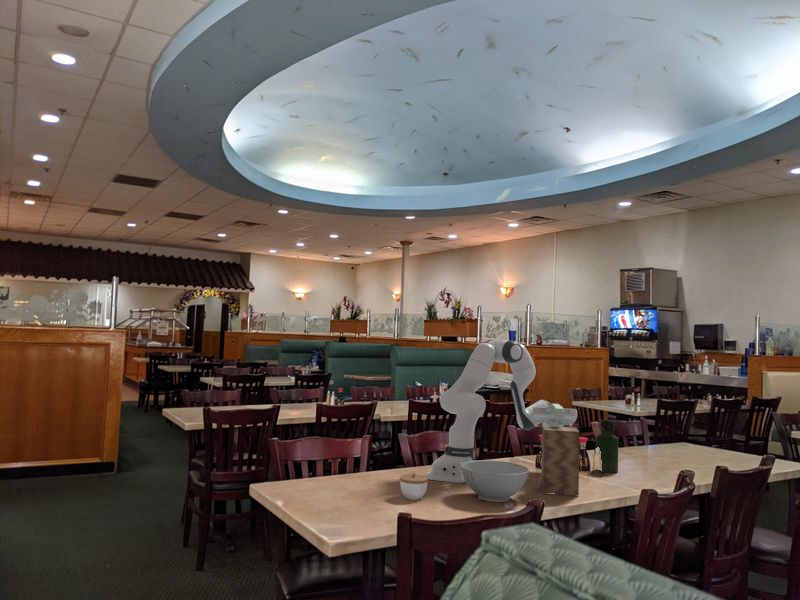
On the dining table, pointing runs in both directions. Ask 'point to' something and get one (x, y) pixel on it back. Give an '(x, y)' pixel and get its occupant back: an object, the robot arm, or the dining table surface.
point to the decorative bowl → (494, 479)
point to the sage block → (558, 411)
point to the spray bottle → (608, 446)
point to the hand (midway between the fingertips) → (556, 407)
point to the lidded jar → (413, 486)
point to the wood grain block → (560, 460)
